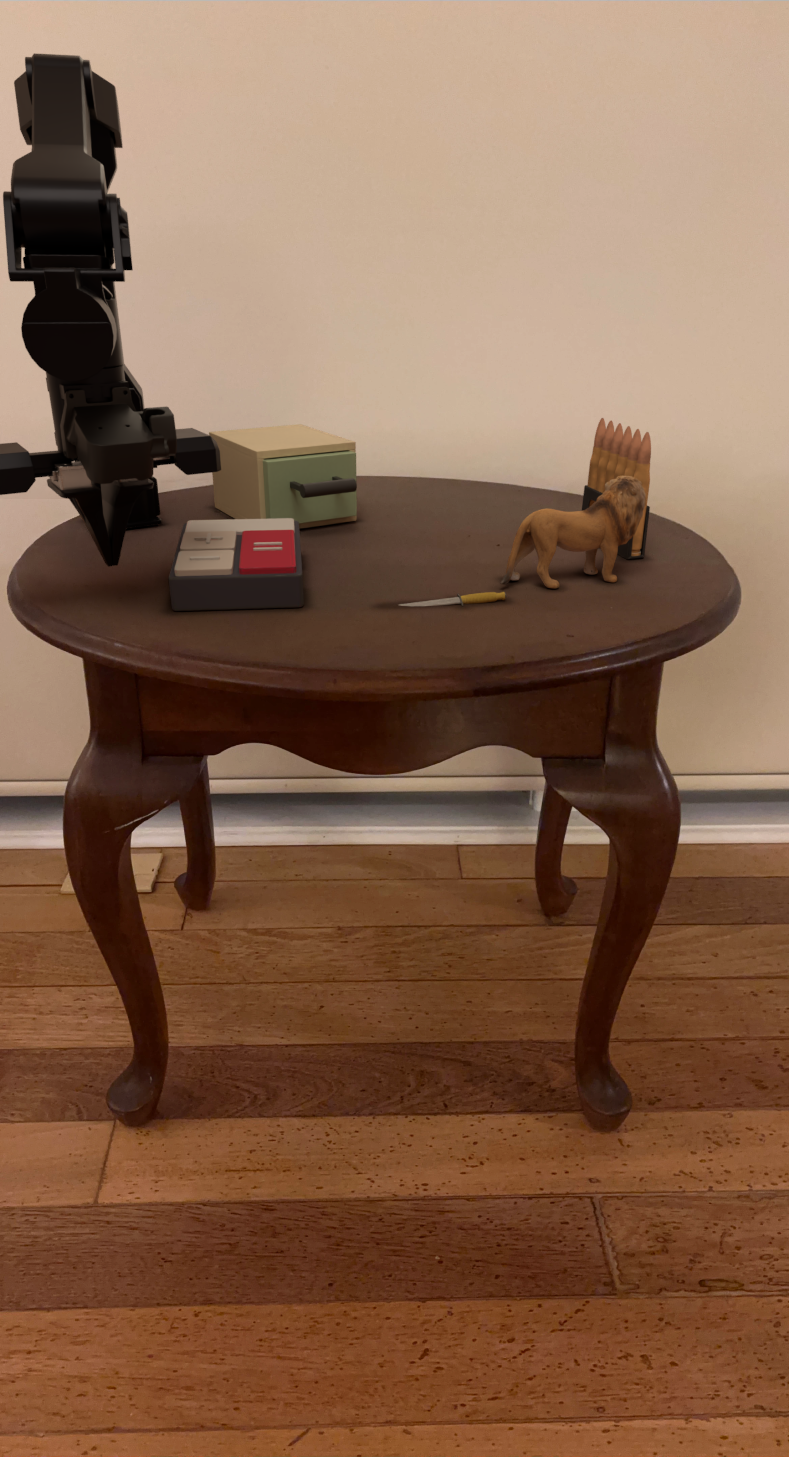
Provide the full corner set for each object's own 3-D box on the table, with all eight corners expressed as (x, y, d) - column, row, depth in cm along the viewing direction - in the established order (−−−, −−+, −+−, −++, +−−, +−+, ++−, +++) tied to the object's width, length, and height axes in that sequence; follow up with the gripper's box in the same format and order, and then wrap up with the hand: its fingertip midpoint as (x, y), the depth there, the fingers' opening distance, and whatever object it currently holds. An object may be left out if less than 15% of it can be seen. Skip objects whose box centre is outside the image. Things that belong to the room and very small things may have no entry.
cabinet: (356, 520, 104) (355, 441, 100) (261, 534, 99) (256, 451, 95) (303, 496, 114) (300, 423, 111) (214, 507, 109) (208, 431, 105)
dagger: (386, 609, 78) (382, 597, 79) (386, 618, 78) (382, 606, 80) (509, 596, 79) (503, 585, 80) (508, 606, 80) (502, 594, 81)
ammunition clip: (644, 558, 92) (661, 432, 86) (628, 559, 91) (643, 433, 86) (593, 531, 101) (606, 415, 95) (578, 532, 100) (589, 416, 95)
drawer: (375, 523, 99) (375, 459, 96) (287, 536, 95) (284, 468, 91) (307, 493, 112) (305, 434, 109) (226, 503, 107) (221, 442, 104)
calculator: (166, 569, 75) (182, 514, 88) (172, 618, 77) (187, 557, 90) (302, 566, 76) (298, 511, 89) (304, 614, 78) (300, 554, 91)
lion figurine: (614, 562, 90) (625, 468, 86) (650, 577, 86) (664, 479, 82) (485, 582, 85) (490, 482, 81) (517, 599, 80) (524, 495, 76)
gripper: (-30, 384, 60) (14, 612, 67) (240, 369, 68) (253, 573, 76) (-54, 367, 68) (-14, 572, 75) (188, 356, 77) (204, 541, 84)
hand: (111, 564), depth 77 cm, fingers closed
